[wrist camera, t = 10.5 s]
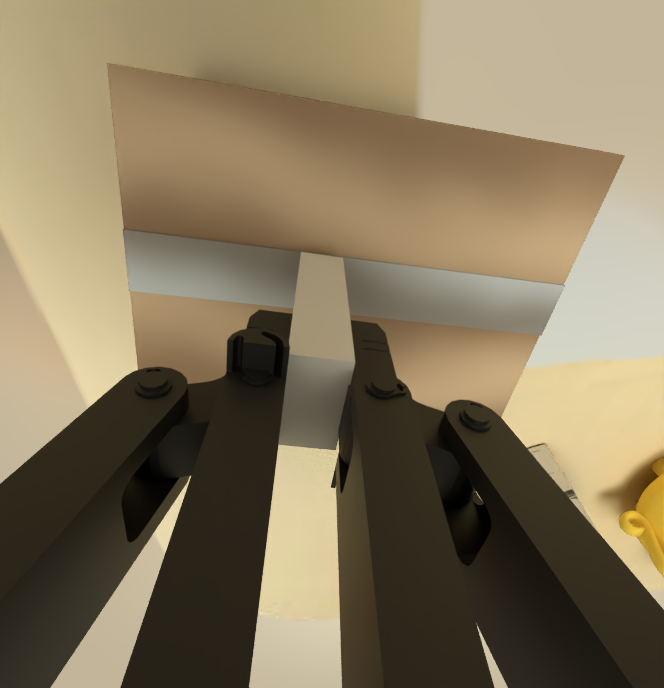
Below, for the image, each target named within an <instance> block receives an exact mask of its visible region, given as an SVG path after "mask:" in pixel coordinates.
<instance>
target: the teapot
mask: <svg viewBox="0 0 664 688" xmlns="http://www.w3.org/2000/svg"><path fill="white" fill-rule="evenodd" d="M652 471H653V472H654V473H656V474H657V475H658V476H659V477H658V478H656V479H655V480H654V481H653V482H652V483H651V484H650V485H649V486H648V487H647V488H646V489H645V490H644V492H643V493H642V495H641V496H640V498H639V501H638V502H637V503H636V504H635V509H636V511H627V512H625V513H623V514H622V515H621V516H620V518H619V524H620V527H621V529H622V530H623V531H624V532H625V533H627V534H629V535H631V536H637V538H638V540H639V541H640V543H641V544H642V545H643V547H644V548H645V549H646V550H647V551H648V553H649V555H650V557H651V559H652V561H653V563H654V565H655V567H656V568H657V570H658V571H659V572H660V573H661V575H662V576H664V457H662V458H660V459H658V460H657V461H655V462H654V463H653V465H652ZM631 523H632V524H634V526H633V525H632V524H631Z"/></svg>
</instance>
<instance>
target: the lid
mask: <svg viewBox="0 0 664 688" xmlns="http://www.w3.org/2000/svg"><path fill="white" fill-rule="evenodd" d="M107 65H108V75H109V85H110V95H111V105H112V115H113V124H114V134H115V144H116V154H117V164H118V174H119V184H120V194H121V204H122V214H123V224H124V229H123V235H124V244H125V254H126V264H127V274H128V284H129V291H130V294H131V303H132V313H133V323H134V333H135V343H136V353H137V363H138V370H140V369H143V368H148V367H166V368H172V369H174V370H177V371H179V372H181V373H182V374H183V375H184V376H185V377H186V378H187V382H188V384H191V383H201V382H208V381H213V380H216V379H219V378H221V377H223V376H225V374H226V365H227V340H228V338H229V337H230V336H231V335H232V334H233V333H235V332H237V331H239V330H243V329H246V328H247V324H248V321H249V318H250V316H251V315H253V314H254V313H255V312H257V311H258V310H259V309H260V310H268V311H275V312H283V313H291V314H293V308H294V301H295V293H296V286H297V278H298V271H299V263H300V256H301V252H306V253H313V254H320V255H327V256H334V257H341V258H343V261H344V270H345V278H346V287H347V295H348V304H349V312H350V320H355V321H362V322H370V323H377V324H378V325H379V326H380V328H381V329H382V330H383V331H384V332H385V333H386V337H387V341H388V345H389V349H390V353H391V357H392V361H393V365H394V369H395V372H396V376H397V378H398V379H400V380H401V381H402V382H403V383H404V384H406V385H407V387H408V388H409V390H410V392H411V395H412V399H413V400H415V401H417V402H419V403H421V404H423V405H426V406H429V407H432V408H435V409H438V410H441V411H445V408H446V406H447V405H448V404H449V403H450V402H451V401H455V400H460V399H461V400H471V401H475V402H478V403H481V404H483V405H485V406H486V407H488V408H490V409H492V410H493V411H494V412H495V413H496V414H498V415H499V416H500V417H501V416H502V414H503V412H504V410H505V408H506V406H507V404H508V401H509V399H510V397H511V395H512V393H513V391H514V389H515V387H516V385H517V382H518V380H519V378H520V376H521V374H522V372H523V370H524V368H525V365H526V363H527V361H528V359H529V357H530V355H531V353H532V351H533V348H534V346H535V344H536V342H537V340H538V338H539V336H540V335H542V333H543V331H544V329H545V327H546V325H547V323H548V320H549V318H550V316H551V314H552V312H553V310H554V308H555V306H556V303H557V301H558V299H559V297H560V295H561V293H562V291H563V289H564V287H565V285H564V283H565V281H566V279H567V277H568V275H569V272H570V270H571V268H572V266H573V264H574V262H575V260H576V258H577V255H578V254H579V251H580V249H581V247H582V245H583V243H584V241H585V239H586V236H587V235H588V232H589V230H590V228H591V226H592V224H593V222H594V220H595V218H596V216H597V213H598V211H599V209H600V207H601V205H602V203H603V201H604V198H605V197H606V194H607V192H608V190H609V188H610V186H611V184H612V182H613V179H614V178H615V175H616V173H617V171H618V169H619V167H620V165H621V163H622V160H623V158H624V156H623V155H619V154H614V153H609V152H603V151H598V150H592V149H587V148H581V147H575V146H570V145H564V144H559V143H553V142H547V141H542V140H536V139H531V138H525V137H520V136H514V135H508V134H503V133H497V132H492V131H486V130H480V129H475V128H469V127H463V126H458V125H452V124H446V123H441V122H435V121H430V120H424V119H419V118H413V117H408V116H402V115H396V114H391V113H385V112H380V111H374V110H368V109H363V108H357V107H352V106H346V105H340V104H335V103H329V102H324V101H318V100H312V99H307V98H301V97H296V96H290V95H284V94H279V93H273V92H268V91H262V90H257V89H251V88H245V87H240V86H234V85H229V84H223V83H217V82H212V81H206V80H201V79H195V78H189V77H184V76H178V75H173V74H167V73H161V72H156V71H150V70H145V69H139V68H133V67H128V66H122V65H116V64H109V63H107Z"/></svg>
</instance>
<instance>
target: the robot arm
mask: <svg viewBox="0 0 664 688" xmlns="http://www.w3.org/2000/svg"><path fill="white" fill-rule="evenodd" d="M338 437H339V454H338V458H337V463H336V467H335V471H334V476H333V480H332V485H331V488H335V487H336V495H337V529H338V563H339V597H340V631H341V661H342V662H341V664H342V688H494V685H493V681H492V678H491V674H490V671H489V667H488V664H487V660H486V656H485V653H484V650H483V646H482V642H481V639H480V636H479V632H478V629H477V625H478V627H479V629H480V631H481V633H482V635H483V637H484V640H485V642H486V644H487V646H488V647H489V649H490V652H491V654H492V656H493V658H494V660H495V662H496V664H497V666H498V668H499V670H500V672H501V674H502V676H503V678H504V680H505V682H506V684H507V686H508V688H664V610H663V609H662V607H661V606H660V605H659V604H658V603H657V601H656V600H655V599H654V598H653V597H652V596H651V594H650V593H649V592H648V591H647V590H646V588H645V587H644V586H643V585H642V584H641V583H640V581H639V580H638V579H637V578H636V577H635V575H634V574H633V573H632V572H631V571H630V570H629V568H628V567H627V566H626V565H625V564H624V562H623V561H622V560H621V559H620V558H619V557H618V555H617V554H616V553H615V552H614V551H613V549H612V548H611V547H610V546H609V545H608V544H607V542H606V541H605V540H604V539H603V538H602V536H601V535H600V534H599V533H598V532H597V531H596V529H595V528H594V527H593V526H592V525H591V523H590V522H589V521H588V520H587V519H586V518H585V516H584V515H583V514H582V513H581V512H580V510H579V509H578V508H577V507H576V506H575V505H574V503H573V502H572V501H571V500H570V499H569V497H568V496H567V495H566V494H565V493H564V492H563V490H562V489H561V488H560V487H559V486H558V484H557V483H556V482H555V481H554V480H553V479H552V477H551V476H550V475H549V474H548V473H547V471H546V470H545V469H544V468H543V467H542V466H541V464H540V463H539V462H538V461H537V460H536V458H535V457H534V456H533V455H532V454H531V453H530V451H529V450H528V449H527V448H526V447H525V445H524V444H523V443H522V442H521V441H520V440H519V438H518V437H517V436H516V435H515V434H514V432H513V431H512V430H511V429H510V428H509V427H508V425H507V424H506V423H505V422H504V421H503V419H502V418H501V417H500V416H499V415H498V414H496V413H495V412H494V411H493V410H492V409H490V408H488V407H486V406H485V405H483V404H481V403H478V402H475V401H471V400H461V399H460V400H455V401H451V402H450V403H449V404H448V405H447V406H446V408H445V411H441V410H438V409H435V408H432V407H429V406H426V405H423V404H421V403H419V402H417V401H415V400H413V399H412V395H411V392H410V390H409V388H408V387H407V385H406V384H404V383H403V382H402V381H401V380H400V379H398V378H397V376H396V372H395V369H394V365H393V361H392V357H391V353H390V349H389V345H388V341H387V337H386V333H385V332H384V331H383V330H382V329H381V328H380V326H379V325H378V324H377V323H370V322H362V321H355V320H350V312H349V304H348V295H347V287H346V278H345V270H344V261H343V258H341V257H334V256H327V255H320V254H313V253H306V252H301V256H300V263H299V271H298V278H297V286H296V293H295V301H294V308H293V314H291V313H283V312H275V311H268V310H260V309H259V310H258V311H257V312H255V313H254V314H253V315H251V316H250V318H249V321H248V324H247V328H246V329H243V330H239V331H237V332H235V333H233V334H232V335H231V336H230V337H229V338H228V340H227V365H226V374H225V376H223V377H221V378H219V379H216V380H213V381H208V382H201V383H191V384H188V382H187V378H186V377H185V376H184V375H183V374H182V373H181V372H179V371H177V370H174V369H172V368H166V367H148V368H143V369H140V370H137V371H134V372H132V373H130V374H129V375H127V376H126V377H124V378H123V379H122V380H120V381H119V382H118V383H117V384H116V385H115V386H113V387H112V388H111V389H110V390H109V391H108V392H106V393H105V394H104V395H103V396H102V397H101V398H100V399H98V400H97V401H96V402H95V403H94V404H93V405H91V406H90V407H89V408H88V409H87V410H86V411H84V412H83V413H82V414H81V415H80V416H79V417H78V418H76V419H75V420H74V421H73V422H72V423H70V425H68V426H67V427H66V428H65V429H63V431H61V432H60V433H59V434H58V435H57V436H55V437H54V438H53V439H52V440H51V441H50V442H48V443H47V444H46V445H45V446H44V447H43V448H41V449H40V450H39V451H38V452H37V453H36V454H34V455H33V456H32V457H31V458H30V459H29V460H27V461H26V462H25V463H24V464H23V465H22V466H21V467H19V468H18V469H17V470H16V471H15V472H14V473H12V474H11V475H10V476H9V477H8V478H7V479H5V480H4V481H3V482H2V483H1V484H0V688H50V687H51V686H52V684H53V683H54V681H55V680H56V678H57V677H58V675H59V674H60V672H61V671H62V669H63V667H64V666H65V665H66V663H67V662H68V660H69V659H70V657H71V656H72V654H73V653H74V651H75V650H76V648H77V647H78V645H79V644H80V642H81V641H82V639H83V638H84V636H85V635H86V633H87V632H88V630H89V629H90V627H91V626H92V624H93V623H94V621H95V620H96V618H97V617H98V615H99V614H100V612H101V611H102V609H103V608H104V606H105V605H106V603H107V602H108V600H109V599H110V597H111V596H112V594H113V593H114V591H115V590H116V588H117V587H118V585H119V584H120V582H121V581H122V579H123V578H124V576H125V575H126V573H127V572H128V570H129V569H130V567H131V566H132V564H133V563H134V561H135V560H136V558H137V557H138V555H139V554H140V552H141V551H142V549H143V548H144V546H145V545H146V543H147V542H148V540H149V539H150V537H151V536H152V534H153V533H154V531H155V530H156V528H157V527H158V525H159V524H160V522H161V521H162V519H163V518H164V516H165V515H166V513H167V512H168V510H169V509H170V507H171V506H172V504H173V503H174V501H175V500H176V498H177V497H178V495H179V494H180V492H181V491H182V489H183V488H184V486H185V485H186V483H187V482H188V479H189V477H190V476H191V475H192V476H191V479H190V482H189V485H188V488H187V491H186V494H185V497H184V500H183V503H182V506H181V509H180V512H179V514H178V517H177V520H176V523H175V526H174V529H173V532H172V535H171V538H170V541H169V544H168V547H167V550H166V553H165V556H164V559H163V562H162V565H161V568H160V571H159V574H158V577H157V580H156V583H155V586H154V589H153V592H152V595H151V598H150V601H149V604H148V607H147V610H146V613H145V616H144V619H143V622H142V625H141V628H140V631H139V634H138V637H137V640H136V643H135V646H134V649H133V652H132V655H131V658H130V661H129V664H128V667H127V670H126V673H125V676H124V679H123V682H122V685H121V688H249V682H250V672H251V664H252V657H253V649H254V640H255V632H256V623H257V616H258V608H259V599H260V591H261V583H262V575H263V566H264V558H265V550H266V542H267V533H268V525H269V517H270V509H271V500H272V492H273V484H274V476H275V468H276V459H277V451H278V445H289V446H299V447H309V448H319V449H329V450H336V446H337V442H338ZM476 491H477V493H478V495H479V496H480V498H481V499H482V500H481V499H480V498H479V496H478V495H477V493H476ZM482 501H483V502H482ZM476 623H477V625H476Z"/></svg>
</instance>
